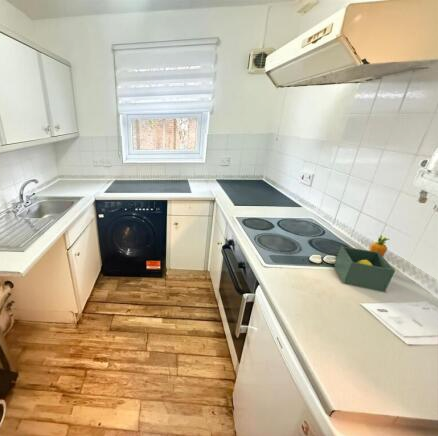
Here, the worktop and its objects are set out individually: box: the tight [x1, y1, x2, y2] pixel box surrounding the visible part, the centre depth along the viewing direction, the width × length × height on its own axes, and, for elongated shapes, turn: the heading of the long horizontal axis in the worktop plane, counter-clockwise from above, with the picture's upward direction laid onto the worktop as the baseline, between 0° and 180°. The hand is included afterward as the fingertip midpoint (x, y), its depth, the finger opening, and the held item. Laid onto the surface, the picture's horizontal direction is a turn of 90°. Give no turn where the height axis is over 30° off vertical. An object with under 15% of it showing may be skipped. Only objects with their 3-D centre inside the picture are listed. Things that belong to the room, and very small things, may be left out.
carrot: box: [368, 234, 390, 257], centre depth 100 cm, size 5×5×15 cm
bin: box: [333, 246, 396, 293], centre depth 94 cm, size 13×14×10 cm
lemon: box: [357, 260, 373, 266], centre depth 94 cm, size 6×6×8 cm
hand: (428, 206), depth 80 cm, fingers open, 8 cm apart
